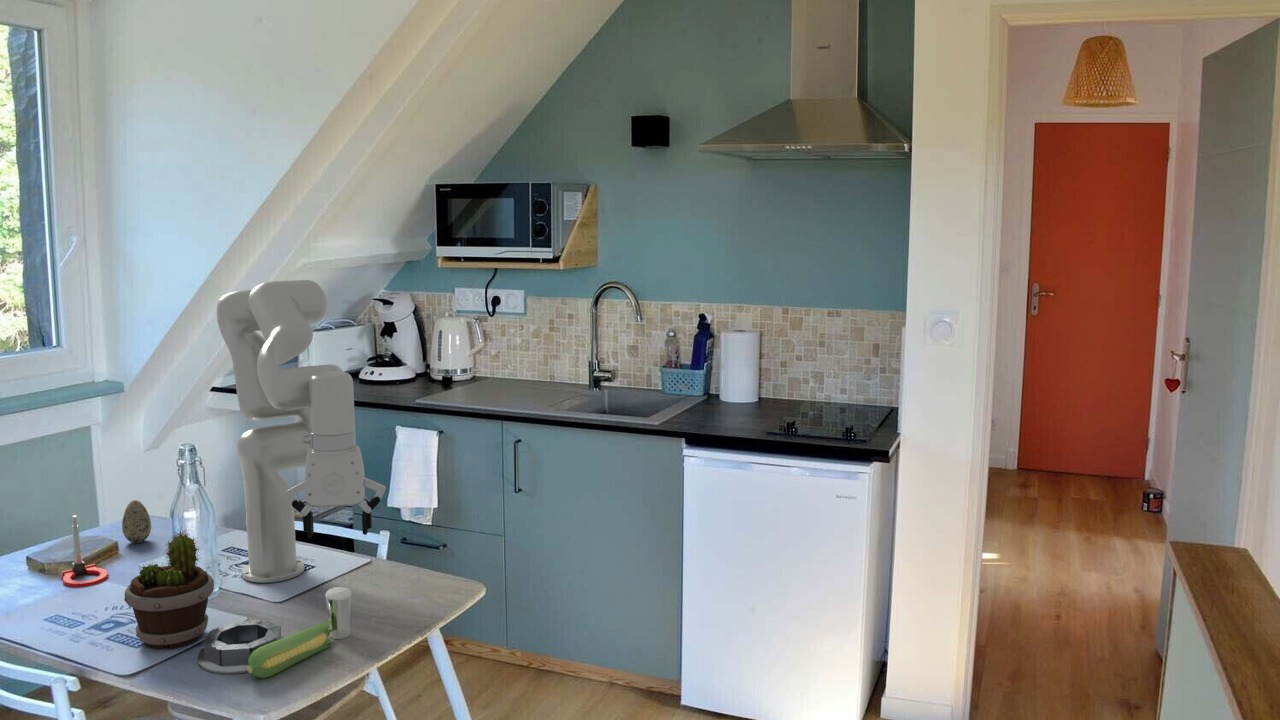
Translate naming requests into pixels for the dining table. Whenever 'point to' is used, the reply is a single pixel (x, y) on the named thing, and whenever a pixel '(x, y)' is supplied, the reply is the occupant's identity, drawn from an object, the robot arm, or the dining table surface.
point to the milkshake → (339, 611)
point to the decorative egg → (136, 522)
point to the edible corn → (288, 651)
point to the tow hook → (81, 564)
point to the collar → (235, 645)
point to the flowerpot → (171, 597)
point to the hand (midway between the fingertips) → (338, 533)
